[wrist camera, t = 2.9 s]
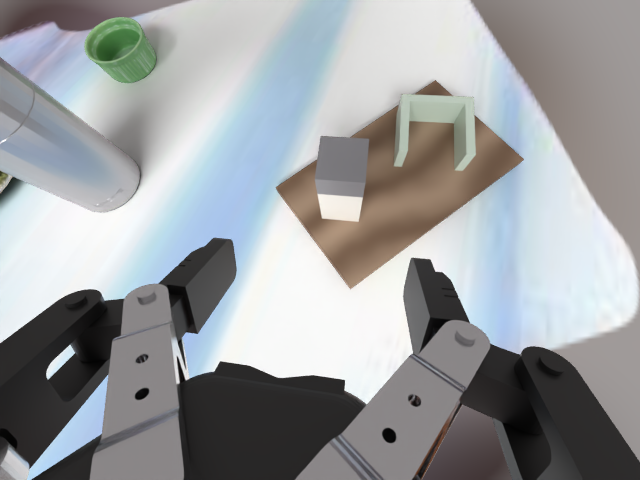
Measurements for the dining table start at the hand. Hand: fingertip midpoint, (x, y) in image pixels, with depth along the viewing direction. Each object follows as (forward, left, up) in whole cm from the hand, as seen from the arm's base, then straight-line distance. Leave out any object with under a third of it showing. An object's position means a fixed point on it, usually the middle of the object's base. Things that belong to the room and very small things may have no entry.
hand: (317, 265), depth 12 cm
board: (-8, +16, -21) cm, 27 cm away
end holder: (-9, +22, -20) cm, 31 cm away
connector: (-9, +8, -20) cm, 23 cm away
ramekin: (-50, -4, -21) cm, 54 cm away
